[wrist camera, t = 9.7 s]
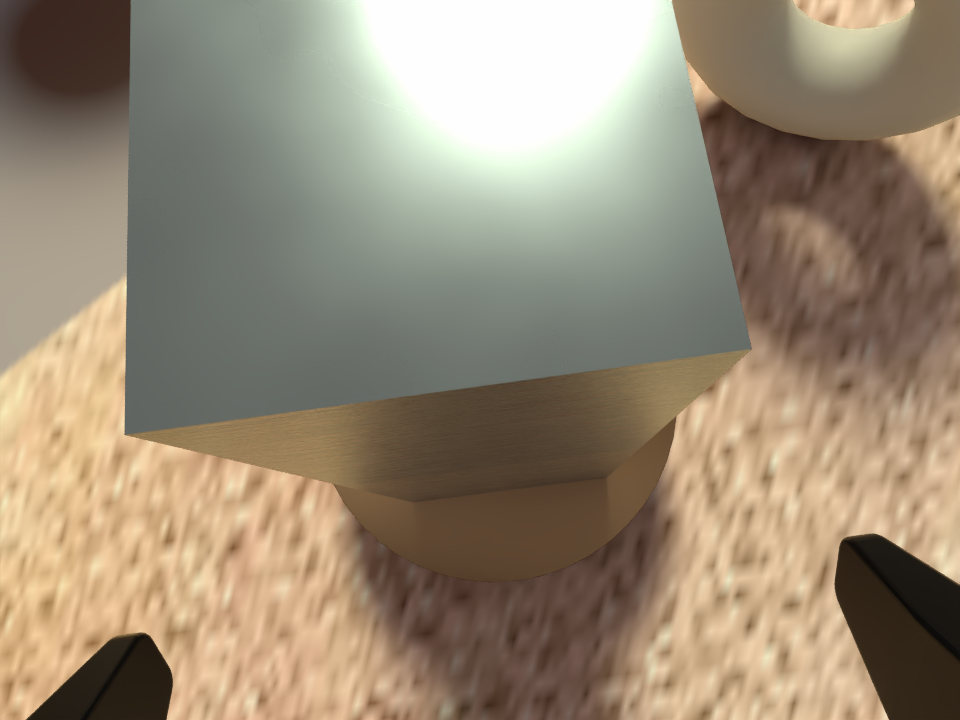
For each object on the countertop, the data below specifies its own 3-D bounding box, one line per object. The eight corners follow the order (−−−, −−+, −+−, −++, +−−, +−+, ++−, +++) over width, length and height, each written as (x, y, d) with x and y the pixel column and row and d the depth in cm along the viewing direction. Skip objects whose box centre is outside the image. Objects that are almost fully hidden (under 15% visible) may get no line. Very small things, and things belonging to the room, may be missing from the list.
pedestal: (617, 615, 20) (632, 631, 17) (309, 524, 22) (266, 522, 18) (684, 306, 23) (709, 265, 19) (399, 242, 24) (375, 194, 21)
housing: (607, 477, 18) (751, 349, 5) (412, 502, 18) (124, 435, 6) (576, 293, 19) (635, -154, 7) (396, 319, 20) (131, -63, 7)
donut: (947, 110, 23) (1231, -187, 14) (920, 196, 23) (1198, -53, 13) (667, 30, 25) (743, -284, 16) (634, 107, 25) (692, -169, 15)
